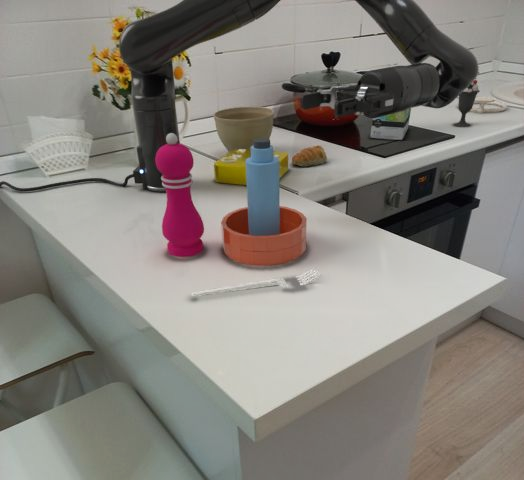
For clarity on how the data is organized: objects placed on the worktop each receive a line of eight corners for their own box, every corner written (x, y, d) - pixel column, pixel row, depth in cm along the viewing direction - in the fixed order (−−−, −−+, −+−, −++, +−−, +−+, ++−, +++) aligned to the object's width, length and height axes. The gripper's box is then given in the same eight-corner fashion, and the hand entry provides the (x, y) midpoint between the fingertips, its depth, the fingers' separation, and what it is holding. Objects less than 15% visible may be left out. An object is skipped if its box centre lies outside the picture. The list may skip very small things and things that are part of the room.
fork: (190, 293, 77) (189, 282, 76) (314, 276, 80) (314, 266, 79) (193, 303, 75) (191, 292, 73) (320, 286, 78) (321, 275, 77)
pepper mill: (171, 264, 85) (153, 141, 74) (161, 248, 91) (142, 131, 79) (211, 256, 88) (200, 135, 76) (199, 240, 93) (186, 125, 81)
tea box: (403, 140, 147) (411, 84, 138) (369, 138, 150) (374, 83, 141) (408, 129, 158) (416, 76, 150) (376, 127, 161) (382, 75, 152)
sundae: (477, 125, 160) (488, 72, 151) (463, 128, 157) (474, 74, 148) (460, 121, 164) (470, 70, 155) (446, 124, 161) (455, 72, 152)
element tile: (270, 188, 116) (270, 167, 113) (212, 182, 120) (210, 162, 118) (290, 169, 127) (290, 149, 124) (236, 164, 132) (235, 145, 129)
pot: (217, 267, 84) (214, 237, 81) (230, 232, 96) (228, 204, 92) (304, 269, 83) (305, 238, 79) (306, 233, 94) (307, 205, 91)
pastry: (302, 169, 127) (302, 154, 124) (285, 164, 131) (285, 149, 129) (329, 162, 131) (329, 147, 129) (311, 157, 136) (311, 142, 133)
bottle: (247, 253, 87) (242, 144, 76) (251, 240, 91) (246, 135, 81) (278, 253, 86) (277, 144, 76) (280, 240, 91) (280, 135, 80)
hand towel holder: (510, 91, 182) (509, 102, 166) (507, 104, 184) (506, 116, 169) (461, 89, 187) (456, 99, 172) (459, 102, 190) (453, 113, 174)
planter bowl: (225, 146, 147) (222, 106, 141) (279, 147, 144) (278, 106, 138) (209, 162, 135) (205, 118, 128) (268, 164, 132) (267, 119, 125)
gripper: (361, 63, 91) (291, 75, 84) (423, 70, 81) (349, 85, 74) (359, 108, 95) (291, 123, 88) (417, 120, 86) (347, 138, 79)
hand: (318, 106), depth 81 cm, fingers open, 8 cm apart
